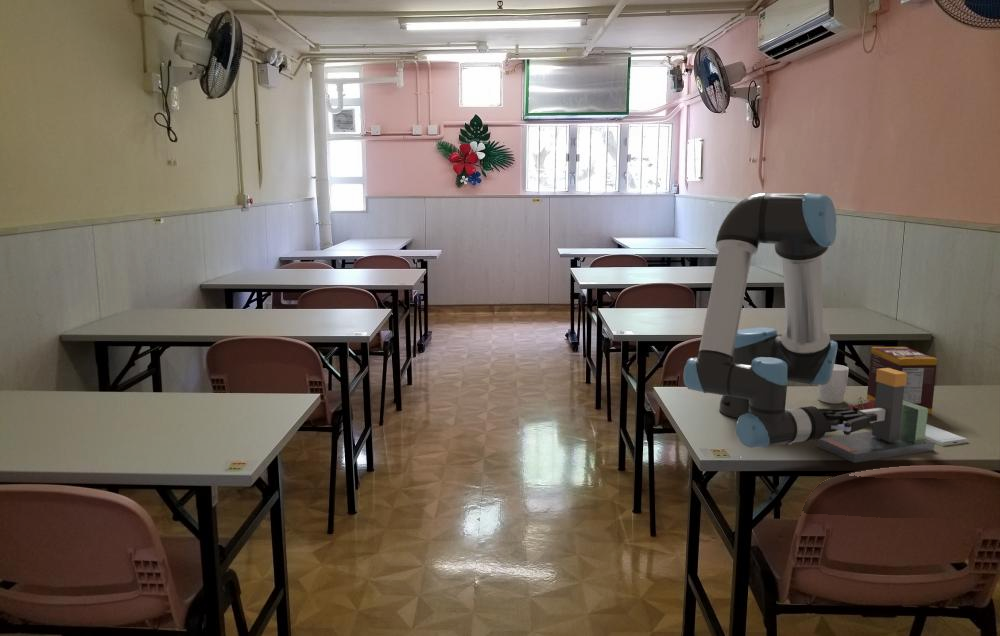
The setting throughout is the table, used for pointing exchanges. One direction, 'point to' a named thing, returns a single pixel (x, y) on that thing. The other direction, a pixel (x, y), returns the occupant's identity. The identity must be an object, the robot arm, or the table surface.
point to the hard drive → (942, 436)
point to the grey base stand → (876, 448)
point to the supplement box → (907, 361)
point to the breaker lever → (889, 402)
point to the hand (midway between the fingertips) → (882, 414)
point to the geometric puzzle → (863, 405)
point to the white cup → (834, 386)
